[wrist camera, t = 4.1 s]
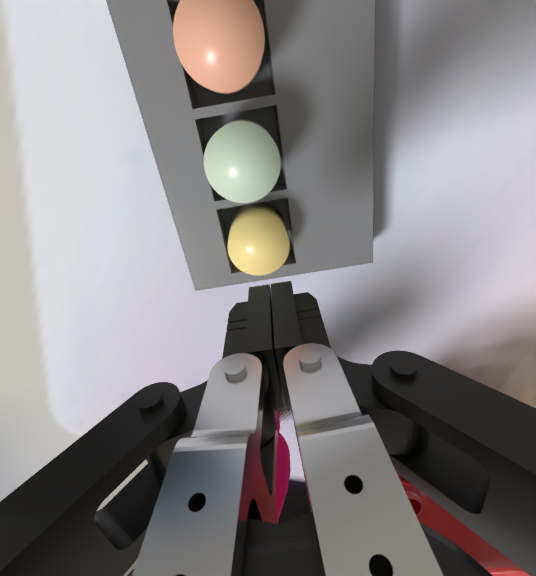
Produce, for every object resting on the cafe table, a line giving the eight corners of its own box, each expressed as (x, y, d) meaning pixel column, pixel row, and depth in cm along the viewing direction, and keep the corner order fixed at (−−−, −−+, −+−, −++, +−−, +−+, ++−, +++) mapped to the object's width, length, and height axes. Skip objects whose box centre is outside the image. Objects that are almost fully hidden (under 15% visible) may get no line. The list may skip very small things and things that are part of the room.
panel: (359, -44, 13) (375, -67, 11) (361, 248, 20) (372, 262, 18) (121, 2, 13) (101, -14, 12) (200, 274, 20) (195, 290, 18)
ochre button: (280, 196, 17) (285, 212, 15) (287, 247, 19) (292, 270, 16) (225, 205, 17) (221, 223, 15) (236, 255, 19) (234, 279, 16)
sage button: (270, 114, 14) (274, 115, 12) (279, 182, 16) (284, 196, 13) (204, 125, 15) (194, 129, 12) (219, 192, 16) (213, 208, 13)
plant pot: (490, 413, 28) (635, 597, 17) (402, 494, 33) (471, 669, 23) (362, 373, 25) (444, 568, 14) (289, 469, 30) (310, 659, 20)
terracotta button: (255, -3, 12) (256, -32, 10) (267, 87, 14) (270, 83, 11) (179, 12, 13) (161, -13, 10) (199, 99, 14) (187, 98, 11)
